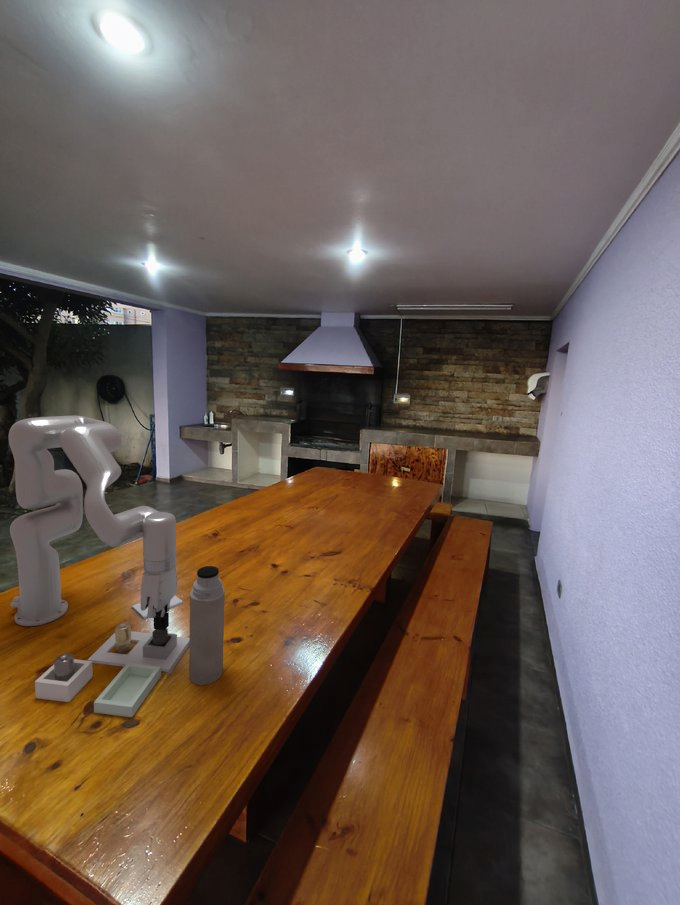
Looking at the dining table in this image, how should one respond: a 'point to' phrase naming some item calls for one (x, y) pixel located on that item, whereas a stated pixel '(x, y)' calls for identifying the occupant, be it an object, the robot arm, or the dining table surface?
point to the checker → (144, 652)
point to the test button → (160, 637)
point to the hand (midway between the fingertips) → (161, 627)
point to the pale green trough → (127, 690)
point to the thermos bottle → (206, 627)
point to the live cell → (123, 637)
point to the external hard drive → (143, 614)
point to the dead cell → (64, 667)
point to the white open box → (63, 682)
